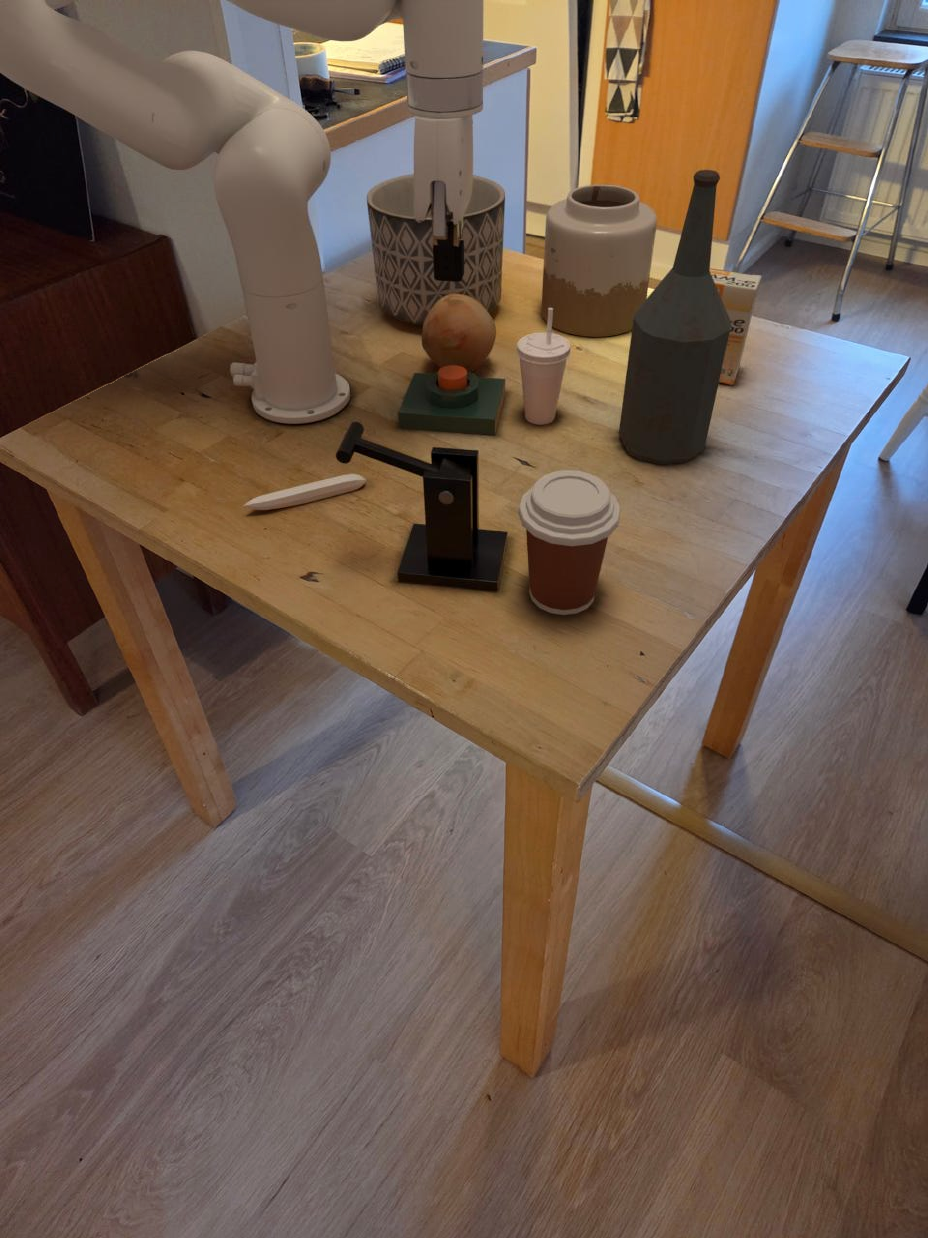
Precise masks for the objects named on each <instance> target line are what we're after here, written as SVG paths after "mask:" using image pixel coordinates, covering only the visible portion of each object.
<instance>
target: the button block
mask: <svg viewBox="0 0 928 1238" xmlns="http://www.w3.org/2000/svg"><path fill="white" fill-rule="evenodd" d="M505 396H506V379H505V378H500V377H499V378H497V377H483V376H477V375H476V374H475V373H473V372H468V371H467V387H466V388H464V389H461V390H456V391H450V390H444V389H441V388H439V386H438V371H436V372H434V373H421V372H414V373H413V374H412V377H411V380H410V382H409V384H408V387H407V389H406V392H405V394H404V397H403V399H402V401H401V404H400V407H399V408H398V411H397V418H398V428H399V429H409V430H421V431H422V430H423V431H434V432H435V431H436V432H449V433H463V434H476V435H489V436H495V435H496V433H497V429H498V424H499V420H500V416H501V412H502V408H503V404H504V400H505Z"/></svg>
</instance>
